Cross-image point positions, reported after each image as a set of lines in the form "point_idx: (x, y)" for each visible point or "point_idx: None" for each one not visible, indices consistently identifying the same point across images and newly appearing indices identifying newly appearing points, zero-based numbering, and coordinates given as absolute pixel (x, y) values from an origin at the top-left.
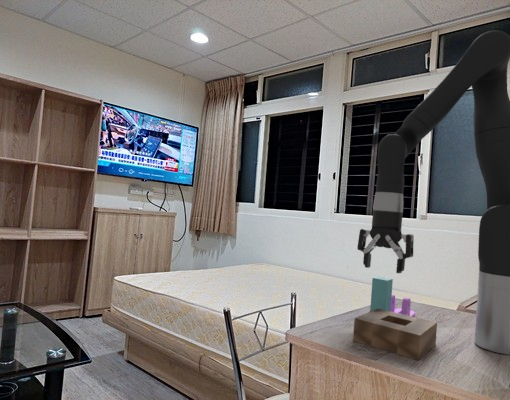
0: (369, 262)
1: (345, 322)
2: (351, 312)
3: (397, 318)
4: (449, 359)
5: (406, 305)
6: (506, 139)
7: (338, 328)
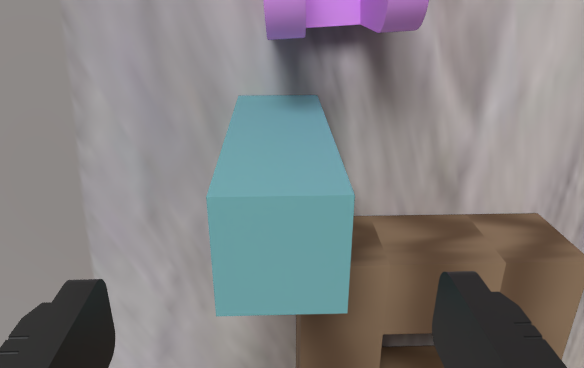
0: (88, 344)
1: (169, 250)
2: (76, 56)
3: (423, 330)
4: (577, 318)
5: (408, 30)
6: None
7: (198, 335)
